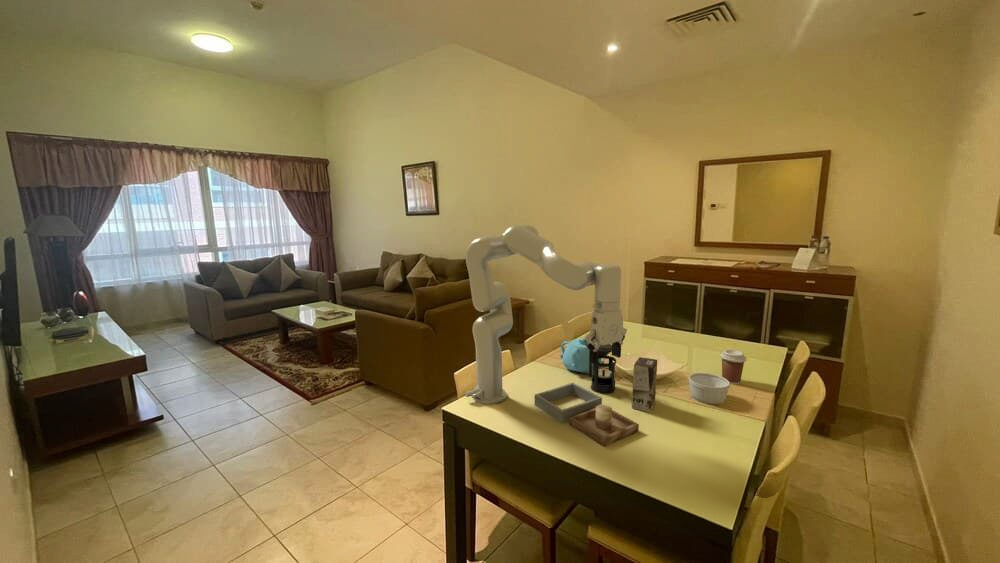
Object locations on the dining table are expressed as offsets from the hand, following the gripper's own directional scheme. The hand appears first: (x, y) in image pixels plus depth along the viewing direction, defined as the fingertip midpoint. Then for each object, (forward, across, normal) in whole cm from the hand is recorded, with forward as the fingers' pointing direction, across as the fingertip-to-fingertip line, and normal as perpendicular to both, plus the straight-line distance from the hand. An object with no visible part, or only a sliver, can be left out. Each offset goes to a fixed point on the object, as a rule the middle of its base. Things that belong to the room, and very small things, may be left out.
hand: (605, 359), depth 125 cm
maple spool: (+22, 0, 0) cm, 22 cm away
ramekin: (+23, +47, -6) cm, 53 cm away
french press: (+23, +21, +21) cm, 38 cm away
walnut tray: (+23, 0, 0) cm, 23 cm away
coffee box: (+23, +23, +3) cm, 33 cm away
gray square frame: (+23, 0, +17) cm, 28 cm away
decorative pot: (+23, +28, +40) cm, 54 cm away
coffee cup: (+23, +68, -3) cm, 72 cm away
